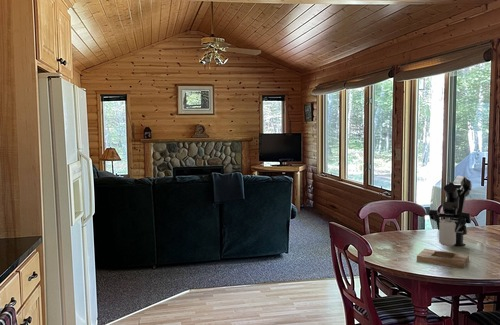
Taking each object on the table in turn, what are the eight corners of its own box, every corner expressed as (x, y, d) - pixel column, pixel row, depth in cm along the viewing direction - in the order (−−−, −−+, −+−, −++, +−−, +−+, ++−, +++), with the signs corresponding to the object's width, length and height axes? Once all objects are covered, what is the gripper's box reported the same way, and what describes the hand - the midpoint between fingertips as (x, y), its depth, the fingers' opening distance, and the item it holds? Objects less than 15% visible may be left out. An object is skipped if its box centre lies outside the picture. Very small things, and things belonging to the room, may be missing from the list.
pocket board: (424, 253, 211) (424, 248, 211) (468, 260, 199) (468, 255, 199) (416, 260, 199) (416, 255, 199) (463, 268, 187) (463, 262, 187)
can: (457, 246, 202) (458, 222, 201) (441, 246, 204) (441, 222, 203) (453, 242, 210) (453, 218, 209) (437, 241, 211) (437, 218, 210)
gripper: (429, 193, 213) (423, 219, 205) (470, 196, 202) (466, 224, 194) (433, 206, 220) (427, 231, 212) (473, 209, 209) (468, 236, 201)
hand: (446, 230), depth 205 cm, fingers closed on can, 7 cm apart
